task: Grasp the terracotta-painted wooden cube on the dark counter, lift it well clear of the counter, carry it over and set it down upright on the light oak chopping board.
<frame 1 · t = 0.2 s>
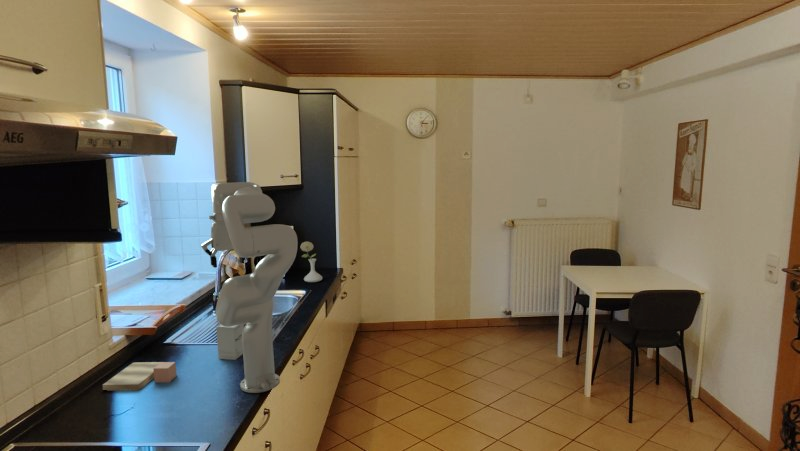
hand: (228, 264, 168), 36 cm above the counter, tool pointing down, fingers open, 9 cm apart
terracotta cube: (165, 379, 160), on the counter
flower in vase: (312, 281, 288), on the counter
chopping board: (136, 378, 161), on the counter
supplement box: (232, 356, 178), on the counter
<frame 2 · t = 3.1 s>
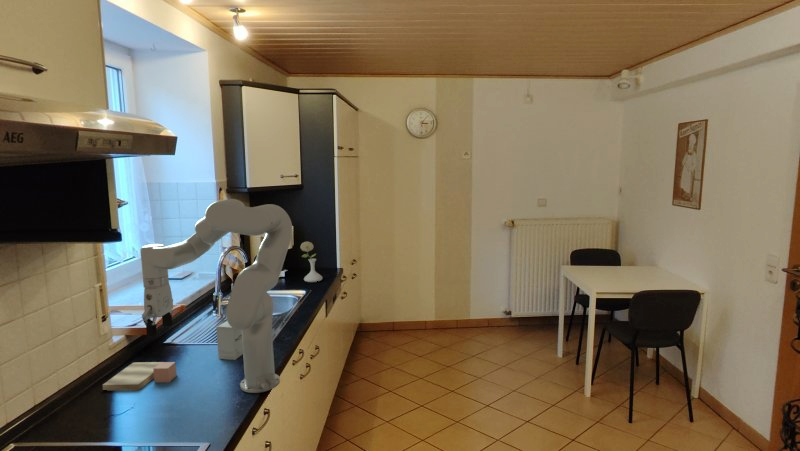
hand: (160, 330, 158), 17 cm above the counter, tool pointing down, fingers open, 9 cm apart
nothing on the counter moved.
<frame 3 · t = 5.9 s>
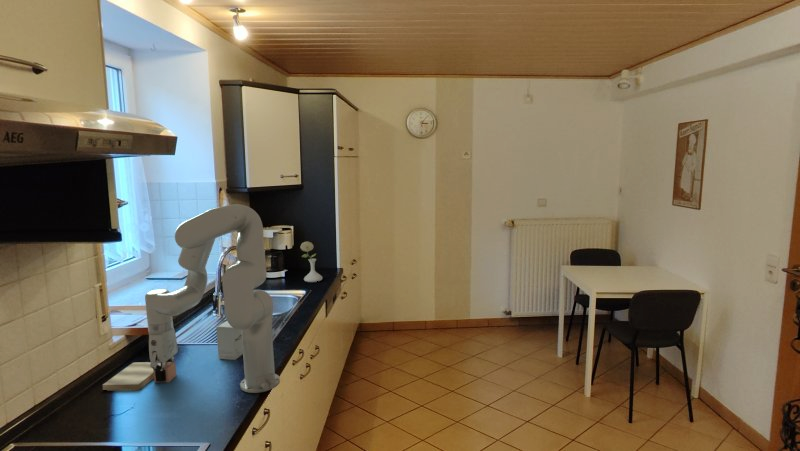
hand: (165, 376, 160), 1 cm above the counter, tool pointing down, fingers closed on terracotta cube, 5 cm apart
terracotta cube: (165, 378, 160), on the counter, touching gripper
everything else where it was.
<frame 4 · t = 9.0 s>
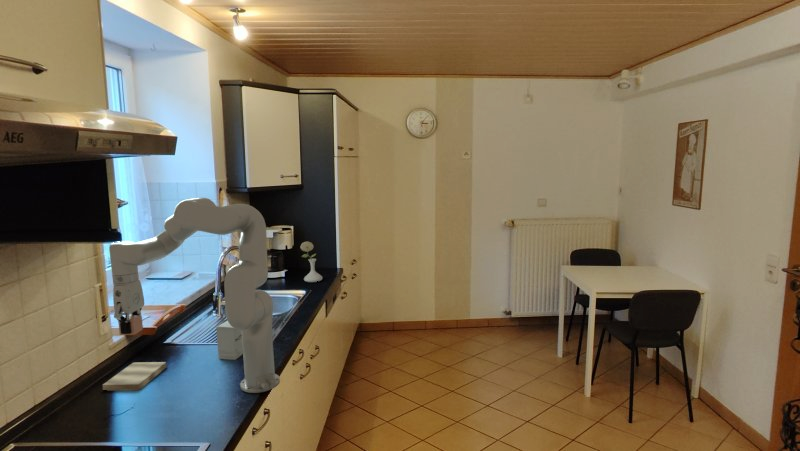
hand: (131, 329, 158), 17 cm above the counter, tool pointing down, fingers closed on terracotta cube, 5 cm apart
terracotta cube: (131, 331, 158), point 17 cm above the counter, touching gripper
everything else where it was.
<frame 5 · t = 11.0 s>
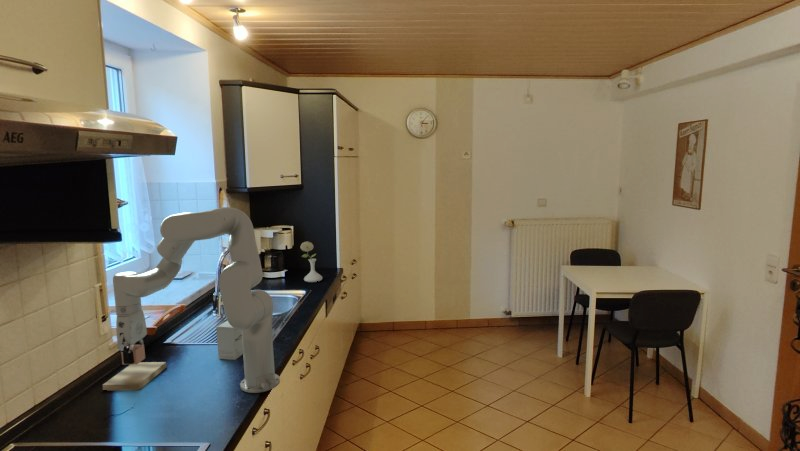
hand: (133, 359, 160), 7 cm above the counter, tool pointing down, fingers closed on terracotta cube, 5 cm apart
terracotta cube: (134, 361, 160), point 6 cm above the counter, touching gripper
everything else where it was.
when the fingers open (4 cm above the counter, at t = 12.4 s): terracotta cube drops 1 cm, resting on chopping board.
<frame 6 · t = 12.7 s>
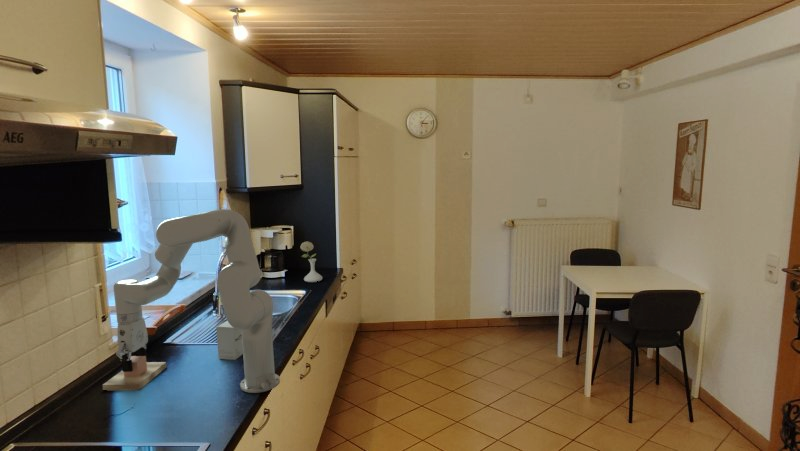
hand: (135, 365, 160), 5 cm above the counter, tool pointing down, fingers open, 7 cm apart
terracotta cube: (135, 372, 160), point 2 cm above the counter, touching chopping board
everything else where it was.
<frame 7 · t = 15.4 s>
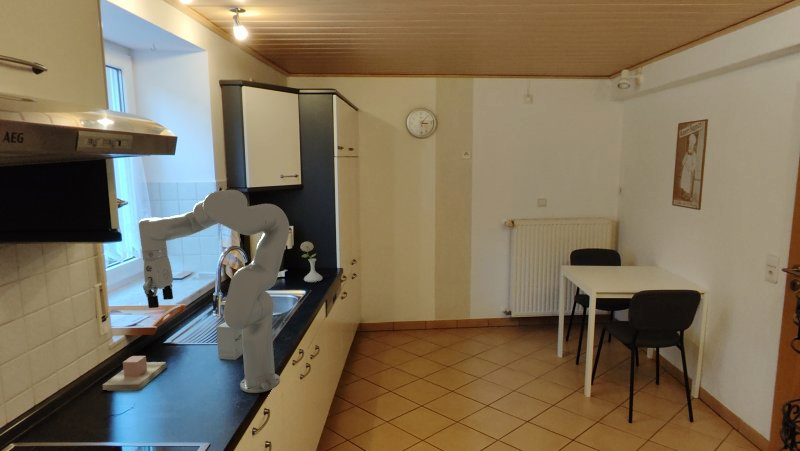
hand: (161, 303, 160), 26 cm above the counter, tool pointing down, fingers open, 9 cm apart
nothing on the counter moved.
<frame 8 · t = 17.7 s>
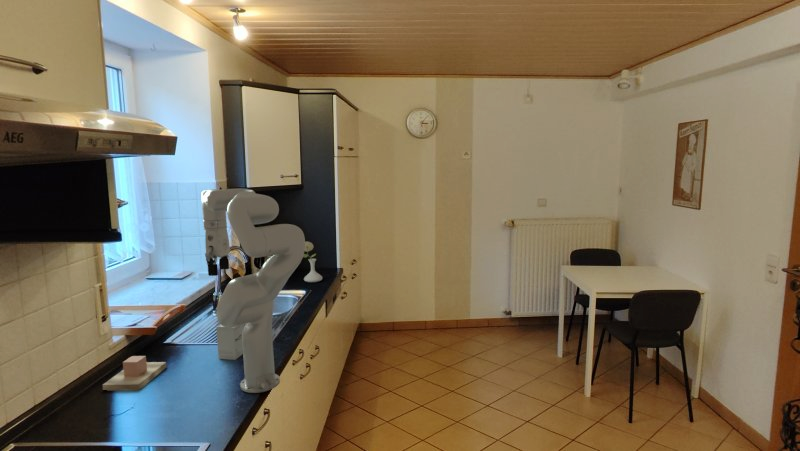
hand: (219, 272, 166), 34 cm above the counter, tool pointing down, fingers open, 9 cm apart
nothing on the counter moved.
at the end: terracotta cube inside the target area on the chopping board (0.1 cm from its centre), point 2.0 cm above the chopping board's base; terracotta cube tilted 0°; the gripper is holding nothing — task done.
